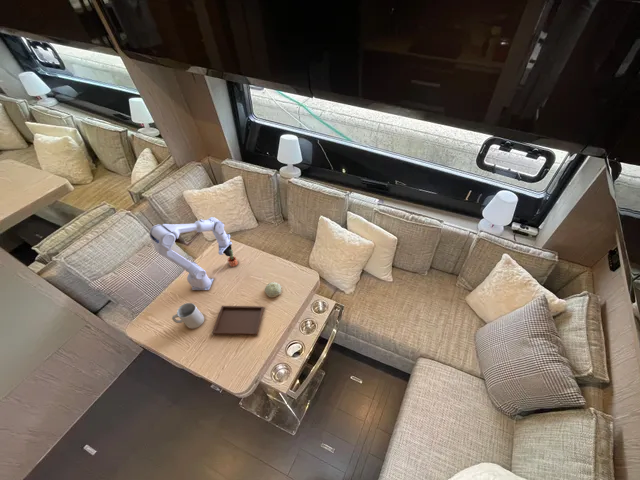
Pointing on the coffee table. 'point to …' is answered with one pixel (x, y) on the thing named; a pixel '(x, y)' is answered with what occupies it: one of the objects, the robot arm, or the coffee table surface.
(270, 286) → the sea urchin shell
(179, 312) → the mug
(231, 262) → the cup
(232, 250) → the muddler
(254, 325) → the tray
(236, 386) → the coffee table surface
